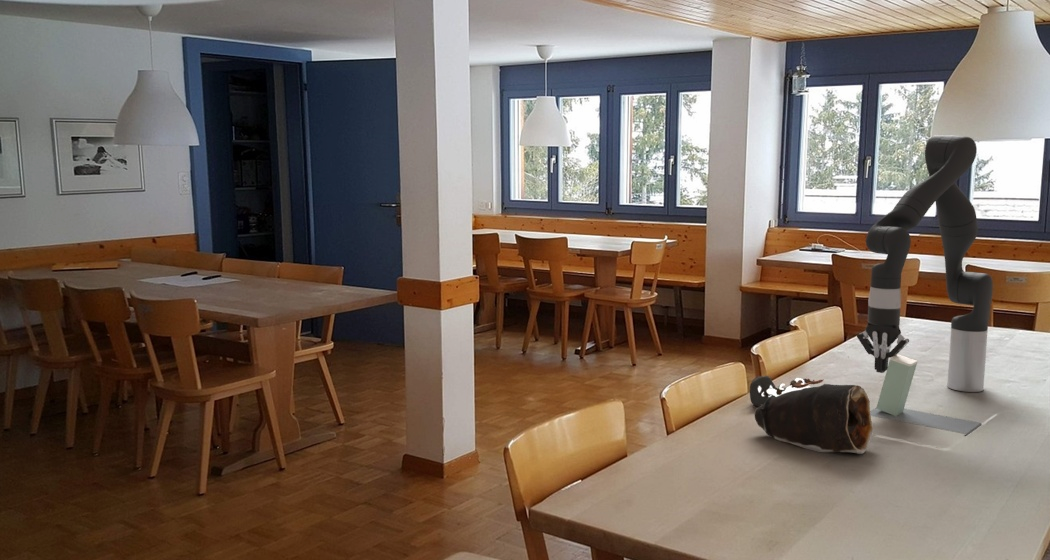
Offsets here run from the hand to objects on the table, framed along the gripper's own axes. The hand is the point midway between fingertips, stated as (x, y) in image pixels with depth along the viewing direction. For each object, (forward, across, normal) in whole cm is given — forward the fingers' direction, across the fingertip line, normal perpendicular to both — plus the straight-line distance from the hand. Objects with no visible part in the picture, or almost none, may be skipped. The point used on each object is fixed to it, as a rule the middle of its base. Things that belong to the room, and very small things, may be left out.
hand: (880, 372), depth 221 cm
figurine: (+11, +19, +14) cm, 26 cm away
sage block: (+10, -3, 0) cm, 10 cm away
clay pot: (+11, +2, +36) cm, 38 cm away
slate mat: (+11, -11, 0) cm, 15 cm away
